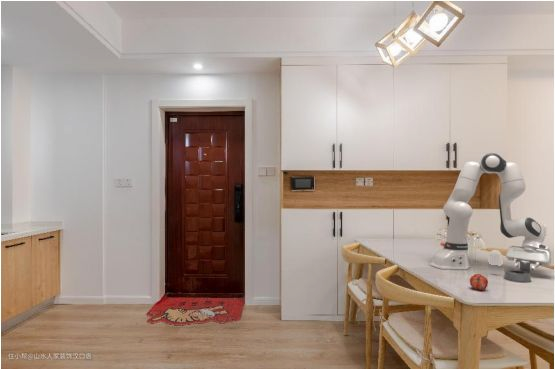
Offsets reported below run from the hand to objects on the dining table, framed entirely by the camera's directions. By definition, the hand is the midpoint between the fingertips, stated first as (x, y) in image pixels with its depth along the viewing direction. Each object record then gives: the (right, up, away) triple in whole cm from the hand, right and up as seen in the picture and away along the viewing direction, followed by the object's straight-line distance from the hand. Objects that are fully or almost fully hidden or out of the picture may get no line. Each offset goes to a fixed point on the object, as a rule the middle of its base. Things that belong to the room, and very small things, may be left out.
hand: (524, 268), depth 194 cm
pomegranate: (-38, -4, -24) cm, 45 cm away
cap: (0, -4, 0) cm, 4 cm away
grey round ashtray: (-8, -4, -7) cm, 11 cm away
